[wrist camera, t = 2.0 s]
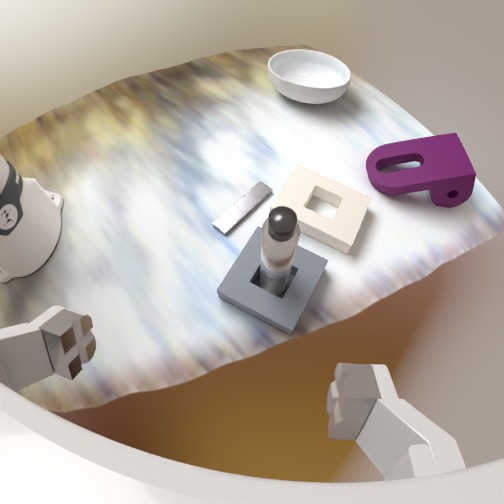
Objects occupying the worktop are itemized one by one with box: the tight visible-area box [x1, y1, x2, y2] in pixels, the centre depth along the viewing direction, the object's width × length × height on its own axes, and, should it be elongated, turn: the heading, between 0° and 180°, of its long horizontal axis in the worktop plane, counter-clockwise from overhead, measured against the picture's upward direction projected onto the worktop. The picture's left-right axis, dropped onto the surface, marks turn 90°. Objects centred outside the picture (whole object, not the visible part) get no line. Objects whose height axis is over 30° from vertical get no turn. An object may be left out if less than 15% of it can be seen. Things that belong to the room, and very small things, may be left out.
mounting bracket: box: [366, 133, 476, 208], centre depth 45 cm, size 9×8×18 cm
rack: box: [270, 165, 371, 254], centre depth 43 cm, size 12×9×2 cm
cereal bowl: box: [268, 50, 351, 104], centre depth 55 cm, size 17×17×7 cm
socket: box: [217, 227, 328, 335], centre depth 38 cm, size 10×10×2 cm
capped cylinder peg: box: [260, 206, 300, 295], centre depth 32 cm, size 3×3×15 cm
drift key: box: [213, 181, 272, 236], centre depth 44 cm, size 10×2×1 cm, turn 138°
